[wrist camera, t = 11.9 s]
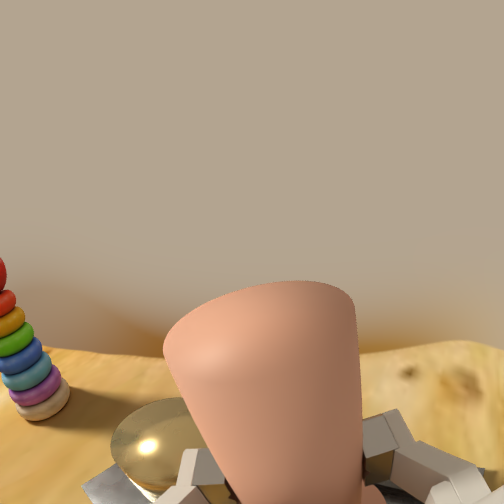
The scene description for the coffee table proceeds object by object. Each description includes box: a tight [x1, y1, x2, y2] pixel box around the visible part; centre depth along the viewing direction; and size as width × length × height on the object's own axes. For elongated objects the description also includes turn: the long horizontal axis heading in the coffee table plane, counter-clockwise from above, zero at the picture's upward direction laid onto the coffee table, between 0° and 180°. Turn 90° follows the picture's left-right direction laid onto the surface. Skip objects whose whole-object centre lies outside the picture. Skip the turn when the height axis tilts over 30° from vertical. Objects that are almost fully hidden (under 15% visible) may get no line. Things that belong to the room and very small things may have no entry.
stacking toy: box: [0, 258, 70, 421], centre depth 25 cm, size 8×8×19 cm
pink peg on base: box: [163, 281, 386, 504], centre depth 8 cm, size 6×6×12 cm
